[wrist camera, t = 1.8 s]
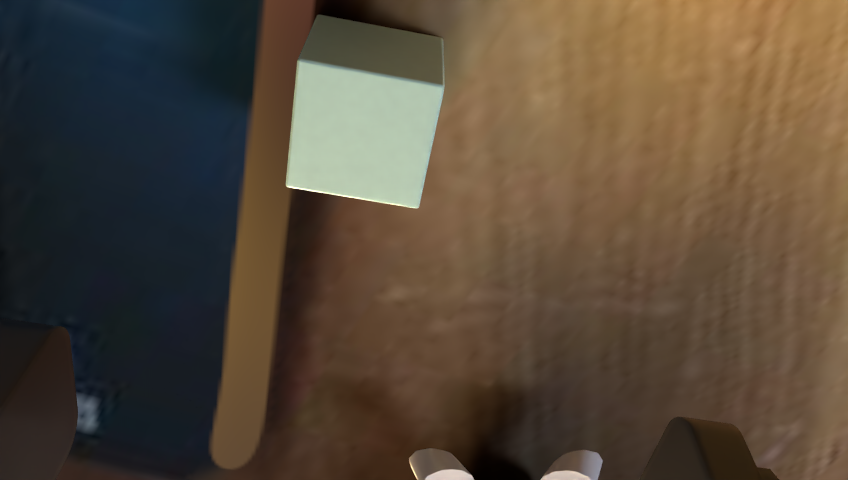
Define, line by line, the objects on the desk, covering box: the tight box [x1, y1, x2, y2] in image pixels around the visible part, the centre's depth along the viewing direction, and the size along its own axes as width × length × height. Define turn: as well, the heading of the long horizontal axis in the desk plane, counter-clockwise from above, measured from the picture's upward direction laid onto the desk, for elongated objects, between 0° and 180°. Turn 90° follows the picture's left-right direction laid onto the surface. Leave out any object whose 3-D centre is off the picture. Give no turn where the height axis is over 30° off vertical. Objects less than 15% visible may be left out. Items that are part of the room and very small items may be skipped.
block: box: [286, 15, 445, 208], centre depth 22 cm, size 4×4×4 cm
